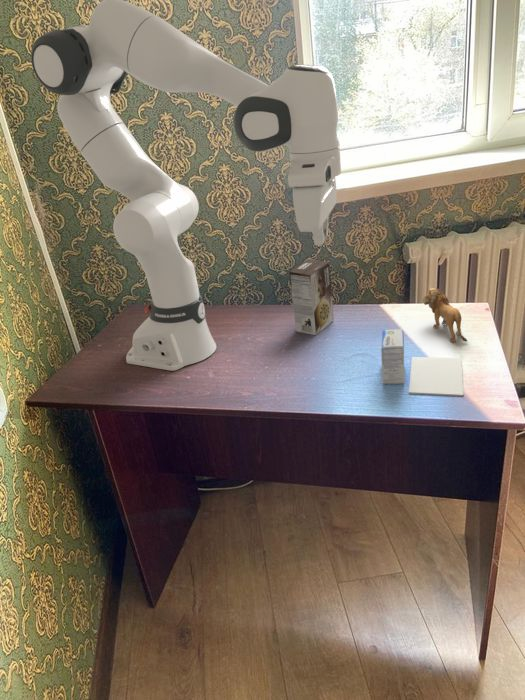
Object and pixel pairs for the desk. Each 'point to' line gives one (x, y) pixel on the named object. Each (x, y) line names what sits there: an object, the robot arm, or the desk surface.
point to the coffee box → (312, 296)
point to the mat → (436, 376)
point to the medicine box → (392, 356)
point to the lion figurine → (444, 311)
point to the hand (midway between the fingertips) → (321, 241)
